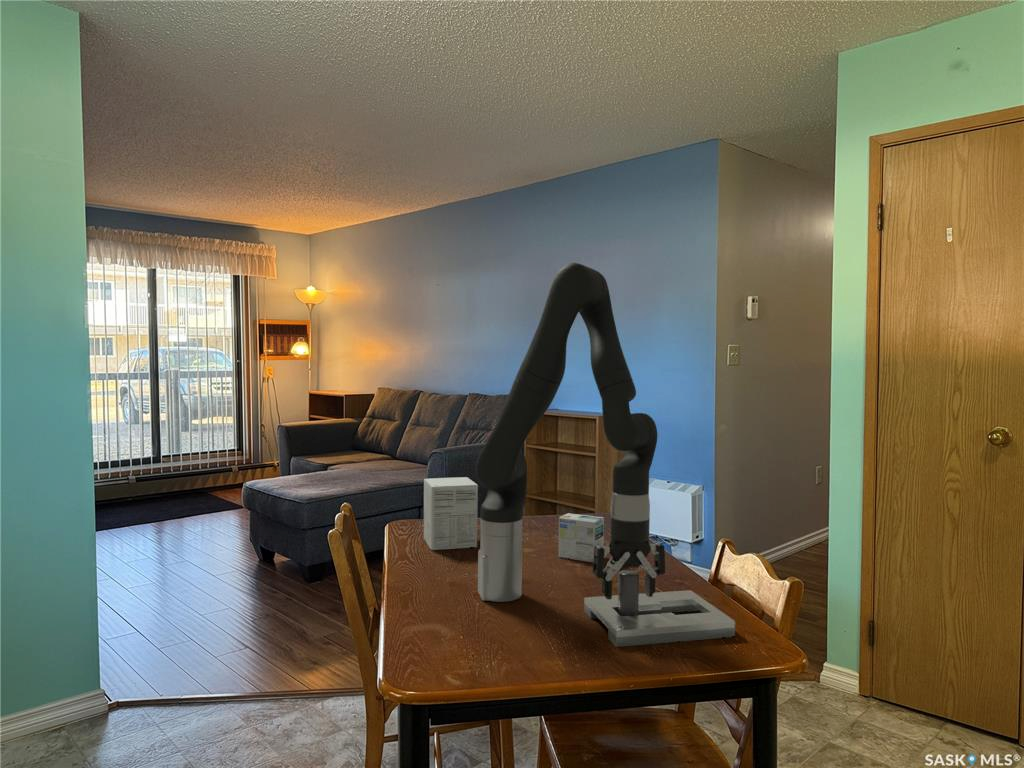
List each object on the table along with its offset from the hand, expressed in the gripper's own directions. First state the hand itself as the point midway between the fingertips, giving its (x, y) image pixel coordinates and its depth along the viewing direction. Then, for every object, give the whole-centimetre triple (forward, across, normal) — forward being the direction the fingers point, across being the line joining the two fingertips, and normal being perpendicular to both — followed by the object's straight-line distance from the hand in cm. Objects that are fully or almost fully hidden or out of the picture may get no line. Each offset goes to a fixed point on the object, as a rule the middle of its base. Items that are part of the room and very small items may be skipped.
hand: (628, 596), depth 139 cm
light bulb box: (+6, +6, +47) cm, 48 cm away
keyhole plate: (+6, +6, 0) cm, 8 cm away
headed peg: (+6, 0, 0) cm, 6 cm away
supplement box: (+6, -26, +67) cm, 72 cm away
